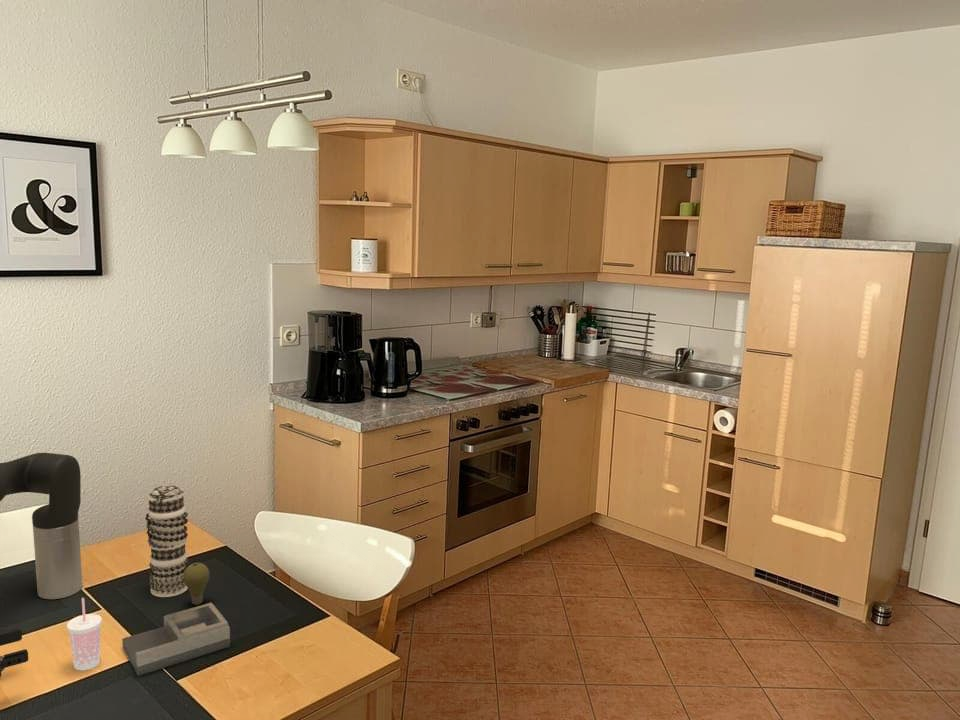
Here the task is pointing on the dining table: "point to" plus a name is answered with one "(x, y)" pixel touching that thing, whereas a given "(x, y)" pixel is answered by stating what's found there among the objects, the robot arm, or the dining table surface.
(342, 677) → the dining table surface
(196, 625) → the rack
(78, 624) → the beverage cup
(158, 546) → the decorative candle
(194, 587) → the light bulb
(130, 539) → the dining table surface
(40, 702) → the dining table surface
